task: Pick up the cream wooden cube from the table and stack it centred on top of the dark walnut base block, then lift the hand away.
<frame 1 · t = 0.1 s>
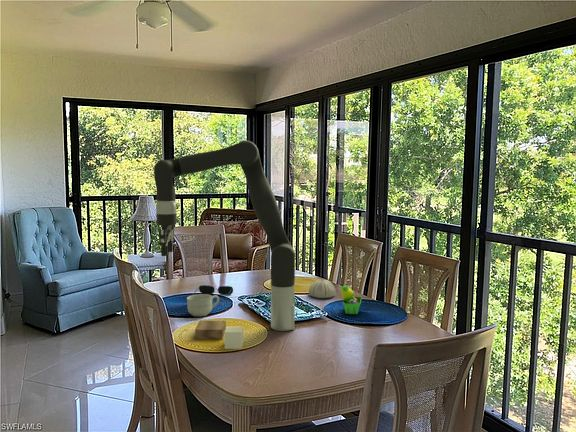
hand: (167, 253, 182), 29 cm above the table, tool pointing down, fingers open, 8 cm apart
sea urchin shell: (321, 296, 232), on the table
sunglasses: (212, 299, 226), on the table
walnut base: (210, 335, 178), on the table
teacup: (203, 314, 202), on the table
cream cube: (234, 345, 167), on the table
fruit basket: (350, 311, 208), on the table
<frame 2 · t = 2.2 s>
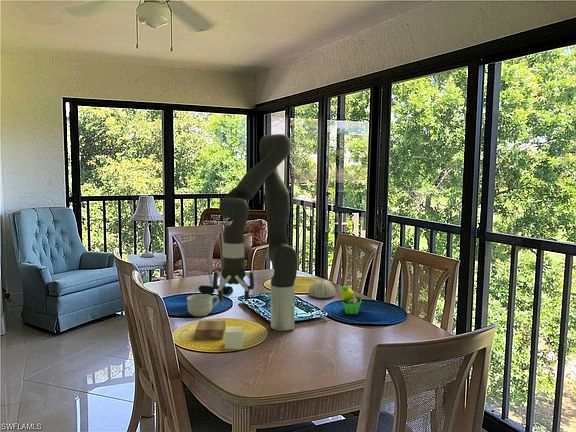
hand: (233, 300, 165), 16 cm above the table, tool pointing down, fingers open, 8 cm apart
nothing on the table moved.
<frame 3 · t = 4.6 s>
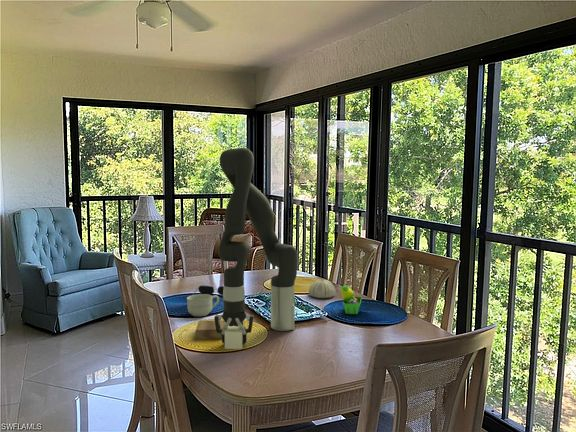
hand: (234, 343, 167), 1 cm above the table, tool pointing down, fingers closed on cream cube, 6 cm apart
cream cube: (234, 345, 167), on the table, touching gripper
everything else where it was.
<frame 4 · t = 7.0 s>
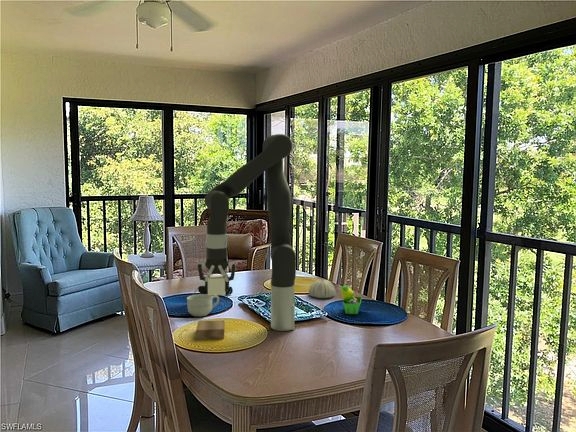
hand: (217, 291, 172), 18 cm above the table, tool pointing down, fingers closed on cream cube, 6 cm apart
cream cube: (217, 292, 172), point 17 cm above the table, touching gripper
everything else where it was.
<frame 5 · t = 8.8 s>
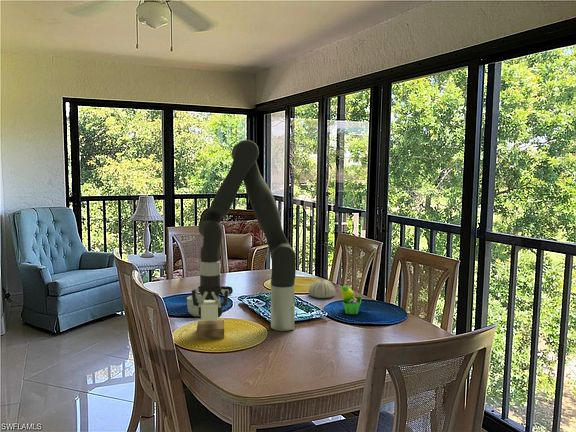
hand: (210, 316, 177), 7 cm above the table, tool pointing down, fingers closed on cream cube, 6 cm apart
cream cube: (210, 318, 177), point 6 cm above the table, touching gripper
everything else where it was.
when the fingers open (6 cm above the table, at t = 9.9 s): cream cube drops 2 cm, resting on walnut base.
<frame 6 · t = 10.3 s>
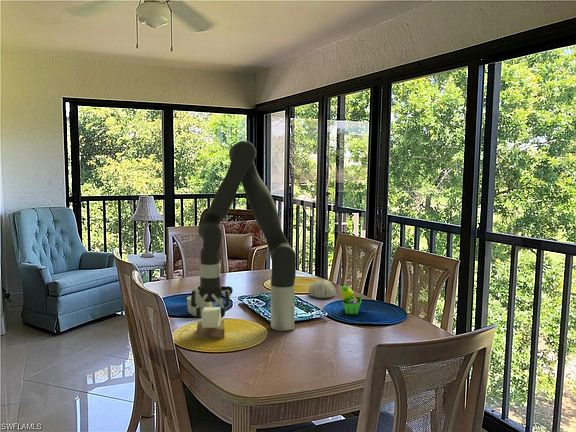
hand: (210, 317, 177), 7 cm above the table, tool pointing down, fingers open, 8 cm apart
walnut base: (210, 335, 178), on the table, touching cream cube
cream cube: (211, 325, 177), point 4 cm above the table, touching walnut base
everything else where it was.
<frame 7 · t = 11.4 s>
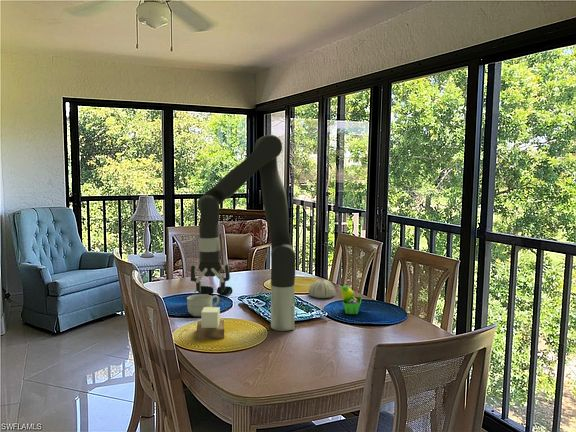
hand: (210, 291, 176), 16 cm above the table, tool pointing down, fingers open, 8 cm apart
walnut base: (210, 335, 178), on the table
cream cube: (210, 325, 177), point 4 cm above the table
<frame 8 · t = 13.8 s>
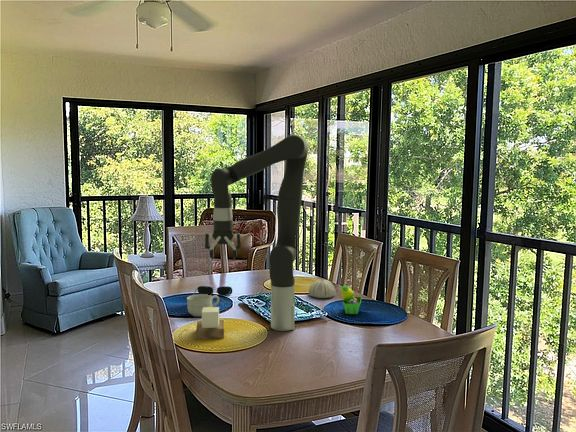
hand: (223, 259, 189), 26 cm above the table, tool pointing down, fingers open, 8 cm apart
walnut base: (210, 335, 178), on the table, touching cream cube
cream cube: (210, 325, 177), point 4 cm above the table, touching walnut base
at the end: cream cube 0.3 cm off-centre on the walnut base, point 4.0 cm above the walnut base's base; cream cube tilted 0°; cream cube touching walnut base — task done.
